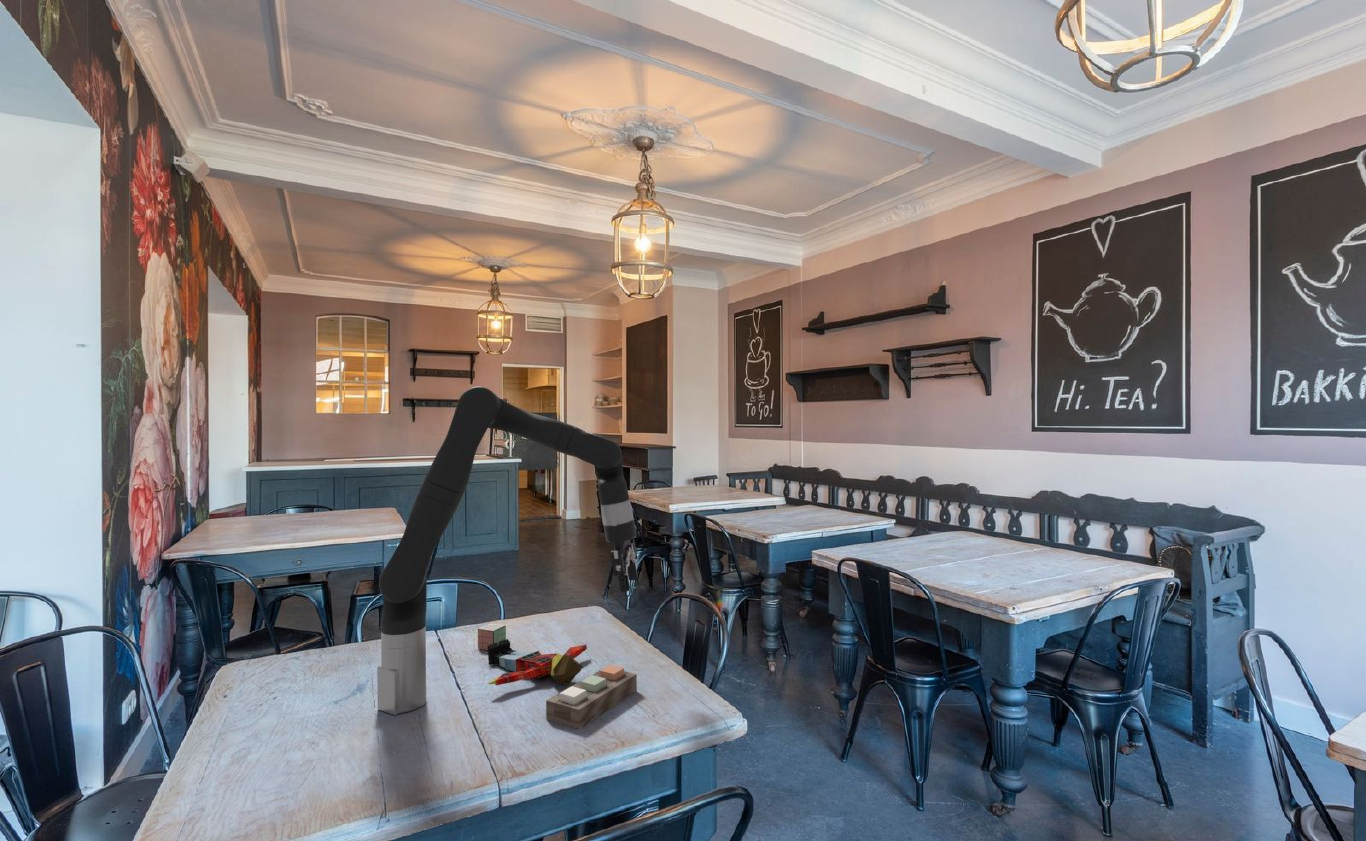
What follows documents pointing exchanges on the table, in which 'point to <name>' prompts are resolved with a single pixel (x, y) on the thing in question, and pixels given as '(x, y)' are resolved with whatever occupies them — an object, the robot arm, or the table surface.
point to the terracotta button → (612, 672)
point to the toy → (533, 663)
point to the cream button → (573, 695)
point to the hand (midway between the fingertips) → (629, 585)
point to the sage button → (593, 683)
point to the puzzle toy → (491, 635)
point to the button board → (591, 701)
